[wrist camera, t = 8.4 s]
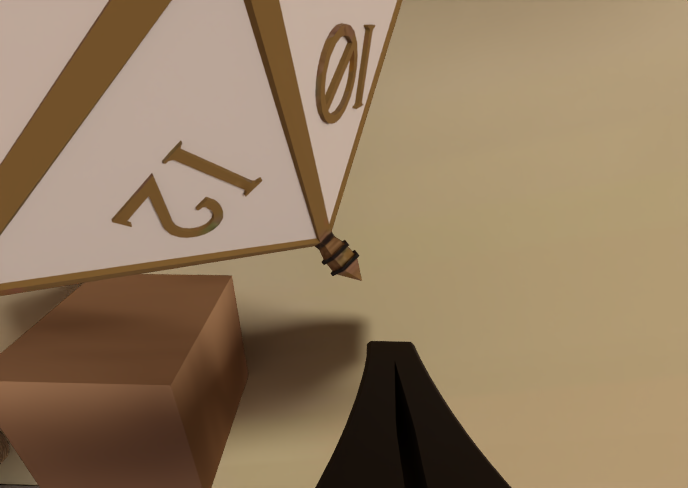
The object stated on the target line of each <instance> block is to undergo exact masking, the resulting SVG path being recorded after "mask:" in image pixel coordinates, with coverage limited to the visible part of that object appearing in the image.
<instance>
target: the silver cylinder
mask: <svg viewBox="0 0 688 488" xmlns="http://www.w3.org/2000/svg"><path fill="white" fill-rule="evenodd" d="M9 451H10V446H9V443H8V441H7V439H6V438H5V436H4V435H3V434H2V433H1V431H0V464H1V463H2V462H3V461H4V459H5V458H6V457H7V456H8V454H9Z"/></svg>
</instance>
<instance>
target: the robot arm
mask: <svg viewBox="0 0 688 488" xmlns="http://www.w3.org/2000/svg"><path fill="white" fill-rule="evenodd" d="M315 488H511V487H510V486H509V484H508V483H507V482H506V481H505V480H504V479H503V477H502V476H501V475H500V474H499V473H498V472H497V470H496V469H495V468H494V467H493V466H492V465H491V463H490V462H489V461H488V460H487V458H486V457H485V456H484V455H483V453H482V452H481V451H480V450H479V448H478V447H477V446H476V445H475V443H474V442H473V441H472V439H471V438H470V437H469V435H468V434H467V433H466V431H465V430H464V428H463V427H462V426H461V424H460V423H459V421H458V420H457V418H456V417H455V416H454V414H453V413H452V411H451V410H450V408H449V407H448V405H447V404H446V402H445V400H444V399H443V397H442V396H441V394H440V392H439V391H438V389H437V388H436V386H435V384H434V383H433V381H432V379H431V377H430V376H429V374H428V372H427V370H426V368H425V367H424V365H423V363H422V361H421V359H420V357H419V355H418V353H417V351H416V348H415V346H414V345H413V344H412V343H411V342H389V341H370V342H369V343H368V344H367V357H366V363H365V368H364V372H363V376H362V380H361V383H360V386H359V390H358V393H357V396H356V399H355V402H354V405H353V407H352V410H351V413H350V415H349V418H348V421H347V423H346V426H345V428H344V430H343V433H342V435H341V437H340V440H339V442H338V444H337V446H336V448H335V450H334V453H333V455H332V457H331V459H330V461H329V463H328V465H327V466H326V468H325V470H324V472H323V474H322V476H321V478H320V480H319V482H318V484H317V485H316V487H315Z"/></svg>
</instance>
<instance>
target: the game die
mask: <svg viewBox="0 0 688 488" xmlns="http://www.w3.org/2000/svg"><path fill="white" fill-rule="evenodd" d="M401 3H402V0H0V296H4V295H10V294H16V293H23V292H29V291H35V290H41V289H48V288H54V287H60V286H67V285H73V284H79V283H85V282H92V281H98V280H104V279H111V278H117V277H123V276H129V275H136V274H142V273H148V272H155V271H161V270H167V269H174V268H180V267H186V266H192V265H199V264H205V263H211V262H218V261H224V260H230V259H236V258H243V257H249V256H255V255H262V254H268V253H274V252H280V251H287V250H293V249H299V248H306V247H312V246H315V247H316V248H318V249H319V250H320V252H321V255H322V257H323V259H324V260H323V261H322V263H323V265H325V264H327V265H328V266H329V267H330V268H331V270H332V272H331V275H332V276H334V275H336V274H338V275H342V276H345V277H349V278H353V279H357V280H361V281H362V279H361V274H360V269H359V264H358V260H357V258H358V257H359V254H358V253H357V252H356V251H355V250H354V251H352V250H351V249H350V248H349V247H348V246H349V244H348V243H347V242H346V241H345V240H344V241H341V240H339V239H338V238H336V237H335V236H334V235H333V233H332V228H333V225H334V222H335V218H336V215H337V212H338V209H339V205H340V202H341V199H342V196H343V192H344V189H345V186H346V182H347V179H348V176H349V173H350V169H351V166H352V163H353V160H354V156H355V153H356V150H357V147H358V143H359V140H360V137H361V134H362V130H363V127H364V124H365V120H366V117H367V114H368V111H369V107H370V104H371V101H372V98H373V94H374V91H375V88H376V85H377V81H378V78H379V75H380V72H381V68H382V65H383V62H384V59H385V55H386V52H387V49H388V45H389V42H390V39H391V36H392V32H393V29H394V26H395V23H396V19H397V16H398V13H399V10H400V6H401Z"/></svg>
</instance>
